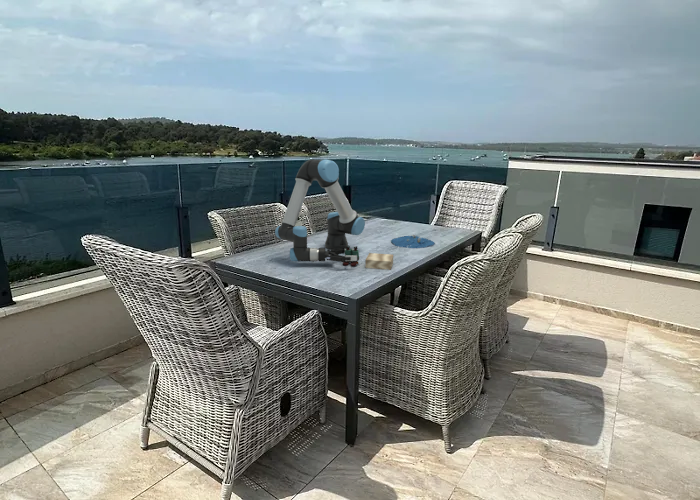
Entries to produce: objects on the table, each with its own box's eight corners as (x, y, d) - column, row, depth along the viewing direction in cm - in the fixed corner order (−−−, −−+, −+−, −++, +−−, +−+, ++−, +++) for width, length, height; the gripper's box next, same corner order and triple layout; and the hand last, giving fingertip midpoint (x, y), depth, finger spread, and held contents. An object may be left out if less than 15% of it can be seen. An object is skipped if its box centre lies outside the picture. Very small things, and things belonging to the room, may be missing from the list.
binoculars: (339, 250, 204) (345, 243, 213) (340, 267, 208) (346, 261, 217) (355, 251, 201) (360, 245, 210) (355, 269, 205) (361, 262, 214)
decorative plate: (435, 252, 245) (435, 244, 243) (389, 248, 250) (389, 241, 248) (434, 239, 272) (434, 232, 271) (392, 237, 277) (392, 230, 276)
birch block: (365, 268, 206) (365, 259, 204) (369, 261, 219) (369, 253, 218) (390, 270, 203) (391, 261, 202) (393, 262, 216) (393, 254, 215)
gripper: (319, 254, 221) (355, 255, 222) (316, 268, 197) (357, 268, 198) (319, 242, 219) (355, 242, 220) (316, 254, 195) (357, 254, 196)
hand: (356, 254), depth 209 cm, fingers open, 13 cm apart
